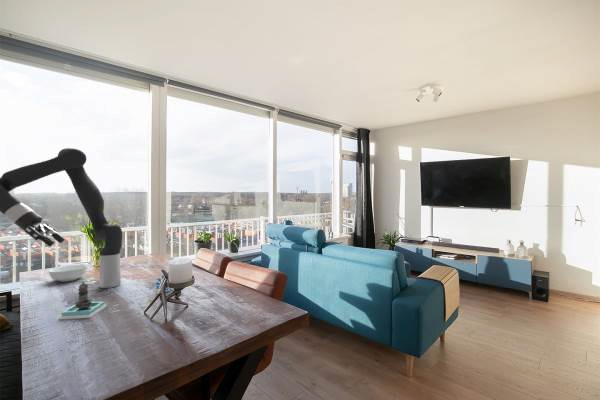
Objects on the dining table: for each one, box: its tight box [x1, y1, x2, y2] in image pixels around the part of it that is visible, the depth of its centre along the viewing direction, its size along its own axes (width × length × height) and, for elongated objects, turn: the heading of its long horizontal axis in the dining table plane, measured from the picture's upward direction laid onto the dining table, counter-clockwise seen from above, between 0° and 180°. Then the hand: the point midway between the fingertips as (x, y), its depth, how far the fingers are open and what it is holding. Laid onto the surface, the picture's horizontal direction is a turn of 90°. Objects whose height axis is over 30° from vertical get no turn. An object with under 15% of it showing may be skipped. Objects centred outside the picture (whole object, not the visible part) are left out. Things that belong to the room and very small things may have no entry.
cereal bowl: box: [48, 264, 88, 283], centre depth 165 cm, size 17×17×7 cm
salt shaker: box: [74, 281, 93, 311], centre depth 118 cm, size 6×6×12 cm
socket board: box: [58, 301, 108, 320], centre depth 119 cm, size 12×12×2 cm
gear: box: [155, 275, 173, 292], centre depth 147 cm, size 11×6×10 cm
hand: (57, 242), depth 121 cm, fingers open, 8 cm apart
